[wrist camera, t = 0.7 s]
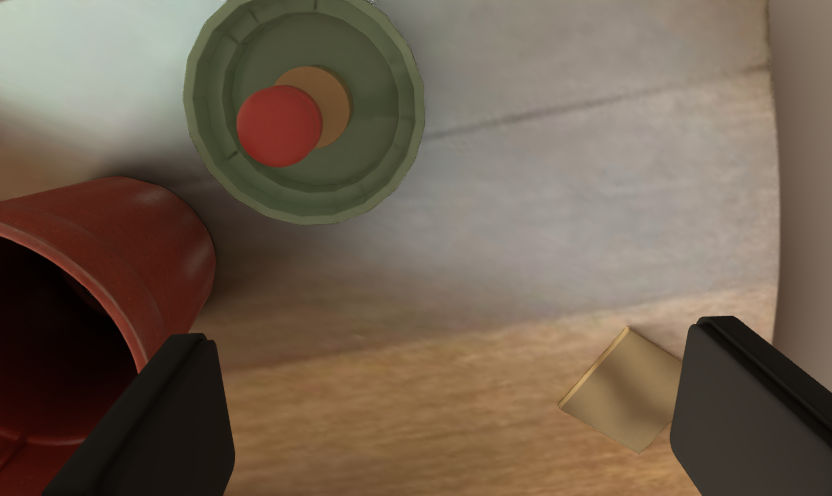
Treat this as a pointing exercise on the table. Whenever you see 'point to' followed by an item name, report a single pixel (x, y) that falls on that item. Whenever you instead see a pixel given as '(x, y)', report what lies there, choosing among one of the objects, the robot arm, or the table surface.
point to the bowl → (295, 47)
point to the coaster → (628, 391)
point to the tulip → (295, 116)
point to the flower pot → (87, 310)
